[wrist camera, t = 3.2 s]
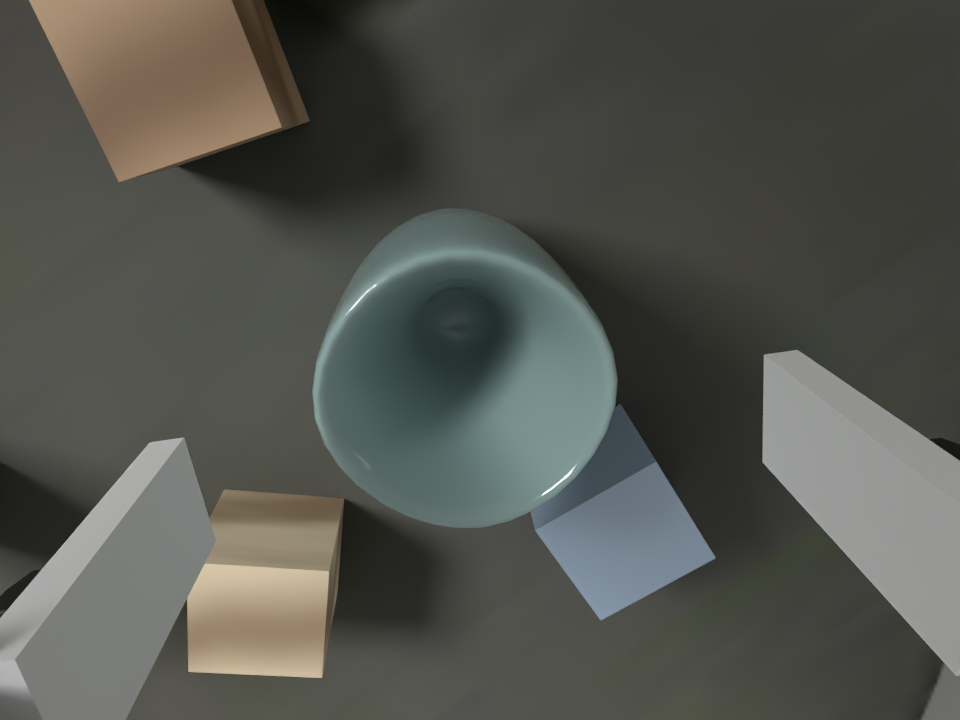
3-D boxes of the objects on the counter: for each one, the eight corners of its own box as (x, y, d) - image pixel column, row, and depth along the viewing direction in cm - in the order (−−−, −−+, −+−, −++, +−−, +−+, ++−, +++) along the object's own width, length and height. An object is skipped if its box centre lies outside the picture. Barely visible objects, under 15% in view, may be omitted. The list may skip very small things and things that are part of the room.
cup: (594, 277, 27) (681, 372, 18) (470, 422, 29) (490, 577, 20) (435, 148, 25) (438, 179, 16) (312, 313, 27) (250, 428, 18)
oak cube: (225, 488, 29) (186, 562, 25) (344, 497, 30) (329, 571, 25) (224, 585, 31) (188, 671, 26) (337, 592, 32) (321, 678, 27)
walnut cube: (109, 16, 23) (26, -4, 18) (251, -34, 23) (205, -67, 18) (177, 165, 25) (119, 182, 20) (310, 121, 24) (281, 127, 20)
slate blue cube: (518, 462, 30) (534, 530, 25) (619, 403, 29) (656, 461, 25) (575, 542, 32) (600, 620, 27) (672, 488, 31) (715, 558, 26)
